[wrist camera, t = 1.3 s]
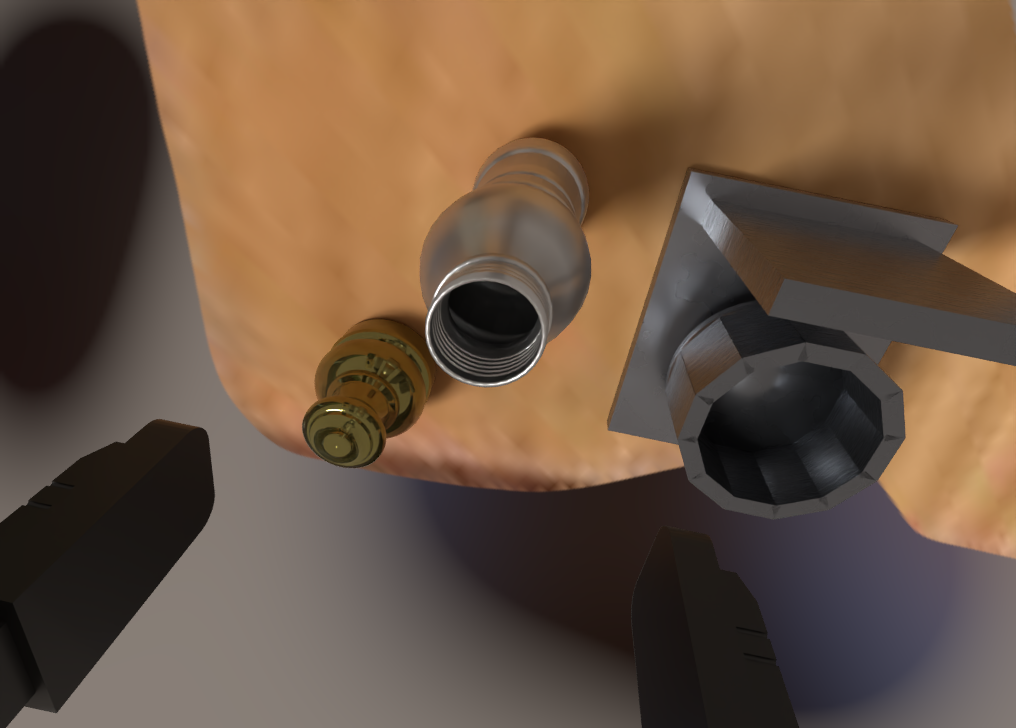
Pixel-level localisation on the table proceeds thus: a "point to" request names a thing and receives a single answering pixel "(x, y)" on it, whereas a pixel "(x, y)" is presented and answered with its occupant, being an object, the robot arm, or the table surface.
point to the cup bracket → (794, 339)
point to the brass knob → (368, 392)
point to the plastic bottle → (507, 264)
